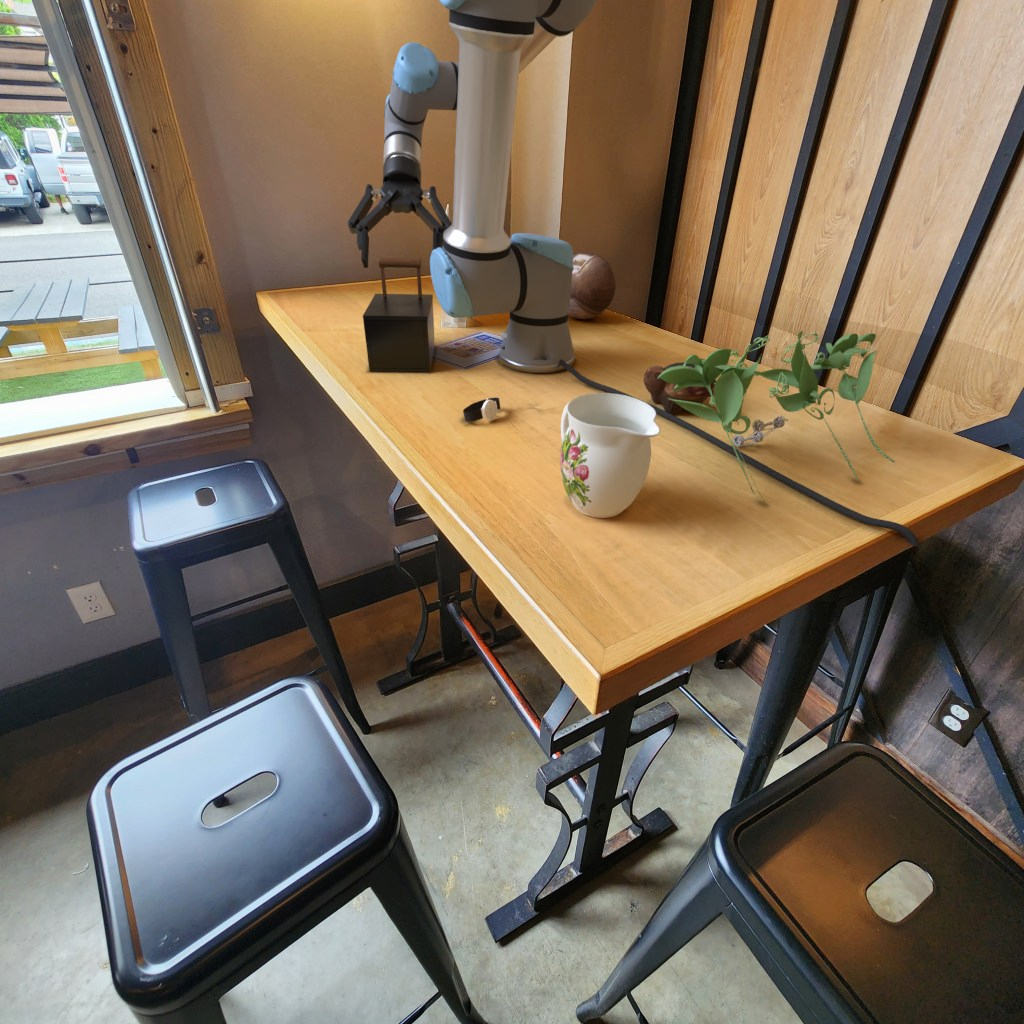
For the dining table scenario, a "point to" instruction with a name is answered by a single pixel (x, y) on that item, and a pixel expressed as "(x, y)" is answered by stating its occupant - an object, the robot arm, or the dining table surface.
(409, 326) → the open box
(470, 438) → the dining table surface
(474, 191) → the robot arm
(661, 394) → the decorative turtle
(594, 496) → the pitcher
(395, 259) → the bacon press
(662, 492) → the dining table surface
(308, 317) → the dining table surface
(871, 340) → the plant cuttings
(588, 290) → the wooden sphere
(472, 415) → the watch
